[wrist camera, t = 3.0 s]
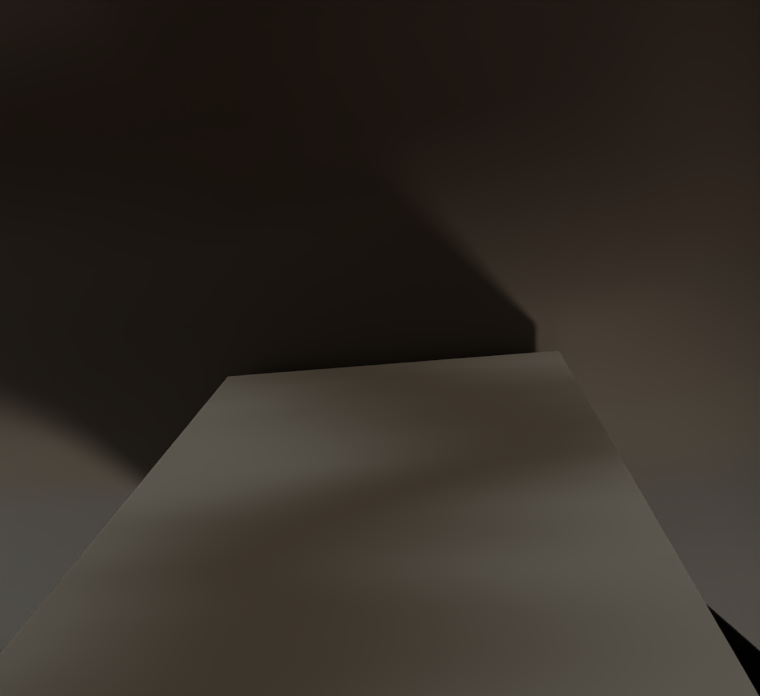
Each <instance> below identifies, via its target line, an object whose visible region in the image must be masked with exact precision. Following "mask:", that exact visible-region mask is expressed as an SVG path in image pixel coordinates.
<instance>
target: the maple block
mask: <svg viewBox="0 0 760 696" xmlns="http://www.w3.org/2000/svg"><path fill="white" fill-rule="evenodd" d="M0 696H759V695H758V693H757V691H756V690H755V688H754V686H753V685H752V683H751V681H750V679H749V678H748V676H747V674H746V672H745V671H744V669H743V667H742V666H741V664H740V662H739V660H738V659H737V657H736V655H735V654H734V652H733V650H732V648H731V647H730V645H729V643H728V641H727V640H726V638H725V636H724V635H723V633H722V631H721V629H720V628H719V626H718V624H717V622H716V621H715V619H714V617H713V616H712V614H711V612H710V610H709V609H708V607H707V605H706V604H705V602H704V600H703V598H702V597H701V595H700V593H699V591H698V590H697V588H696V586H695V585H694V583H693V581H692V579H691V578H690V576H689V574H688V572H687V571H686V569H685V567H684V566H683V564H682V562H681V560H680V559H679V557H678V555H677V553H676V552H675V550H674V548H673V547H672V545H671V543H670V541H669V540H668V538H667V536H666V535H665V533H664V531H663V529H662V528H661V526H660V524H659V522H658V521H657V519H656V517H655V516H654V514H653V512H652V510H651V509H650V507H649V505H648V503H647V502H646V500H645V498H644V497H643V495H642V493H641V491H640V490H639V488H638V486H637V485H636V483H635V481H634V479H633V478H632V476H631V474H630V472H629V471H628V469H627V467H626V466H625V464H624V462H623V460H622V459H621V457H620V455H619V453H618V452H617V450H616V448H615V447H614V445H613V443H612V441H611V440H610V438H609V436H608V435H607V433H606V431H605V429H604V428H603V426H602V424H601V422H600V421H599V419H598V417H597V416H596V414H595V412H594V410H593V409H592V407H591V405H590V403H589V402H588V400H587V398H586V397H585V395H584V393H583V391H582V390H581V388H580V386H579V385H578V383H577V381H576V379H575V378H574V376H573V374H572V372H571V371H570V369H569V367H568V366H567V364H566V362H565V360H564V359H563V357H562V355H561V353H560V352H559V351H548V352H536V353H523V354H510V355H497V356H484V357H471V358H459V359H446V360H433V361H420V362H407V363H394V364H382V365H369V366H356V367H343V368H330V369H317V370H305V371H292V372H279V373H266V374H253V375H241V376H228V377H227V378H226V379H225V381H224V382H223V383H222V384H221V385H220V387H219V388H218V389H217V390H216V391H215V393H214V394H213V395H212V396H211V398H210V399H209V400H208V401H207V402H206V404H205V405H204V406H203V407H202V409H201V410H200V411H199V412H198V413H197V415H196V416H195V417H194V418H193V419H192V421H191V422H190V423H189V424H188V426H187V427H186V428H185V429H184V430H183V432H182V433H181V434H180V435H179V437H178V438H177V439H176V440H175V441H174V443H173V444H172V445H171V446H170V447H169V449H168V450H167V451H166V452H165V454H164V455H163V456H162V457H161V458H160V460H159V461H158V462H157V463H156V465H155V466H154V467H153V468H152V469H151V471H150V472H149V473H148V474H147V475H146V477H145V478H144V479H143V480H142V482H141V483H140V484H139V485H138V486H137V488H136V489H135V490H134V491H133V492H132V494H131V495H130V496H129V497H128V499H127V500H126V501H125V502H124V503H123V505H122V506H121V507H120V508H119V510H118V511H117V512H116V513H115V514H114V516H113V517H112V518H111V519H110V520H109V522H108V523H107V524H106V525H105V527H104V528H103V529H102V530H101V531H100V533H99V534H98V535H97V536H96V538H95V539H94V540H93V541H92V542H91V544H90V545H89V546H88V547H87V548H86V550H85V551H84V552H83V553H82V555H81V556H80V557H79V558H78V559H77V561H76V562H75V563H74V564H73V566H72V567H71V568H70V569H69V570H68V572H67V573H66V574H65V575H64V576H63V578H62V579H61V580H60V581H59V583H58V584H57V585H56V586H55V587H54V589H53V590H52V591H51V592H50V593H49V595H48V596H47V597H46V598H45V600H44V601H43V602H42V603H41V604H40V606H39V607H38V608H37V609H36V611H35V612H34V613H33V614H32V615H31V617H30V618H29V619H28V620H27V621H26V623H25V624H24V625H23V626H22V628H21V629H20V630H19V631H18V632H17V634H16V635H15V636H14V637H13V639H12V640H11V641H10V642H9V643H8V645H7V646H6V647H5V648H4V649H3V651H2V652H1V653H0Z"/></svg>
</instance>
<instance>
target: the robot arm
mask: <svg viewBox="0 0 760 696" xmlns="http://www.w3.org/2000/svg"><path fill="white" fill-rule="evenodd" d="M705 604H706V603H705ZM706 605H707V604H706ZM707 607H708V609H709V610H710V612H711V614H712V616H713V617H714V619H715V621H716V622H717V624H718V626H719V628H720V629H721V631H722V633H723V635H724V636H725V638H726V640H727V641H728V643H729V645H730V647H731V648H732V650H733V652H734V654H735V655H736V657H737V659H738V660H739V662H740V664H741V666H742V667H743V669H744V671H745V672H746V674H747V676H748V678H749V679H750V681H751V683H752V685H753V686H754V688H755V690H756V691H757V693H758V695H759V696H760V651H759V650H758V649H757V648H756V647H755V646H754V645H752V644H751V643H750V642H749V641H748V640H747V639H746V638H744V637H743V636H742V635H741V634H740V633H739V632H738V631H736V630H735V629H734V628H733V627H732V626H731V625H730V624H728V623H727V622H726V621H725V620H724V619H723V618H722V617H720V616H719V615H718V614H717V613H716V612H715V611H714V610H712V609H711V608H710V607H709V606H708V605H707Z"/></svg>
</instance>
